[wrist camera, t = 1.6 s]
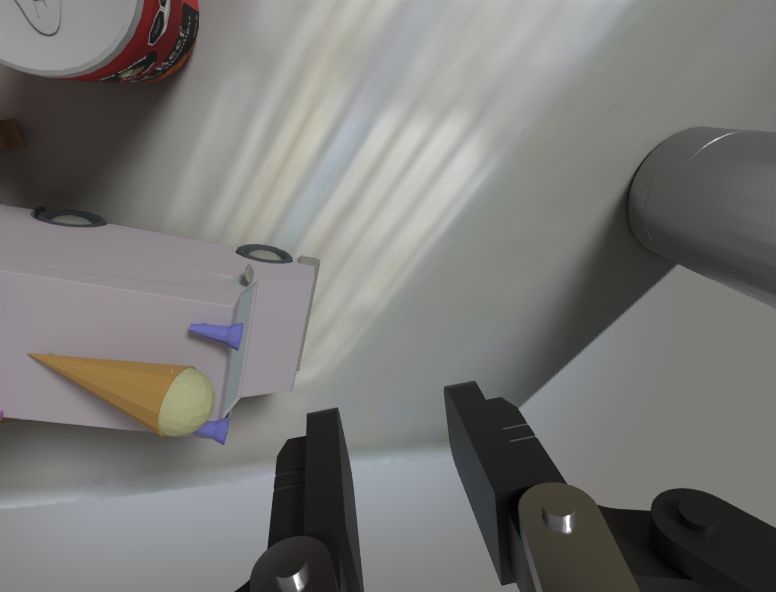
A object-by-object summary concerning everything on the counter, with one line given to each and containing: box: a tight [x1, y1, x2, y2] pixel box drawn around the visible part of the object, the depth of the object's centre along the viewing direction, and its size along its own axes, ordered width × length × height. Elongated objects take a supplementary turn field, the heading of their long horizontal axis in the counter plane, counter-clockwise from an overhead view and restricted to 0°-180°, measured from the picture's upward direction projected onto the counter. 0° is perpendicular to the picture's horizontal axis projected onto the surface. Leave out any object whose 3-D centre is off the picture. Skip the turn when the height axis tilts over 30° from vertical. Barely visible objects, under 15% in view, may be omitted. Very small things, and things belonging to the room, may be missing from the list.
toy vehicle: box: [0, 201, 320, 445], centre depth 26 cm, size 9×20×15 cm, turn 77°
